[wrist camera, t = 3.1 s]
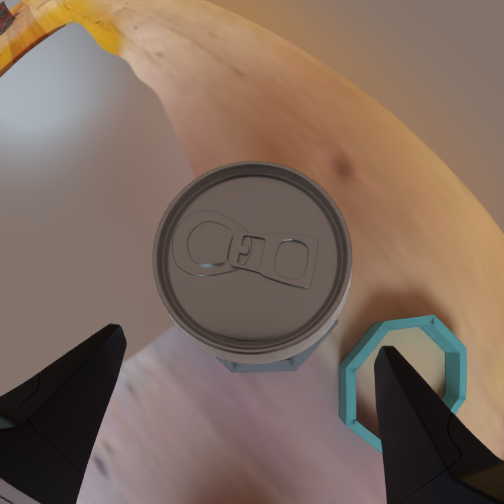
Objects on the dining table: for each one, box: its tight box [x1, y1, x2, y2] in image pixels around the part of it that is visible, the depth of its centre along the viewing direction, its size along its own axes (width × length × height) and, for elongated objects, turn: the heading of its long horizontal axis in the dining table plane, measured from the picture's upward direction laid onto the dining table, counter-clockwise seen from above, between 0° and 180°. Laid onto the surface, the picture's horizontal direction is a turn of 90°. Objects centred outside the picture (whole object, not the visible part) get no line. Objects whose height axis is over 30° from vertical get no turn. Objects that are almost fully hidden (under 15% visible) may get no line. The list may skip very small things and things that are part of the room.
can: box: [152, 161, 352, 364], centre depth 14 cm, size 6×6×12 cm
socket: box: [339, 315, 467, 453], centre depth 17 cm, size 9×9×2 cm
